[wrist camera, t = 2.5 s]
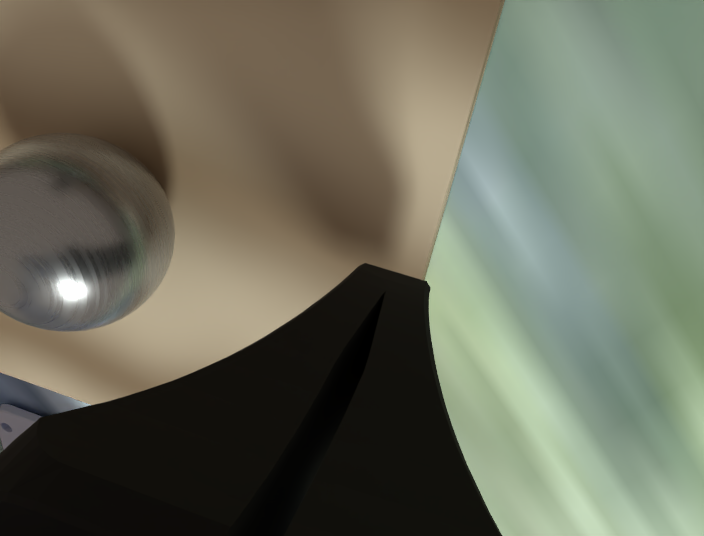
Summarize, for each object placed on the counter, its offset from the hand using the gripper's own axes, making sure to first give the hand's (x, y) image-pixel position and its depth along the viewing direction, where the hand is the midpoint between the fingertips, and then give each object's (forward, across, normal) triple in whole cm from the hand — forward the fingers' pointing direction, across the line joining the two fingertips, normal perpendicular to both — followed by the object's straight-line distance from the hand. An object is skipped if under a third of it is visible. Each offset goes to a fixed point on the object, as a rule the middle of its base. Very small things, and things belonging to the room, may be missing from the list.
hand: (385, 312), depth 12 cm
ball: (0, +6, 0) cm, 7 cm away
